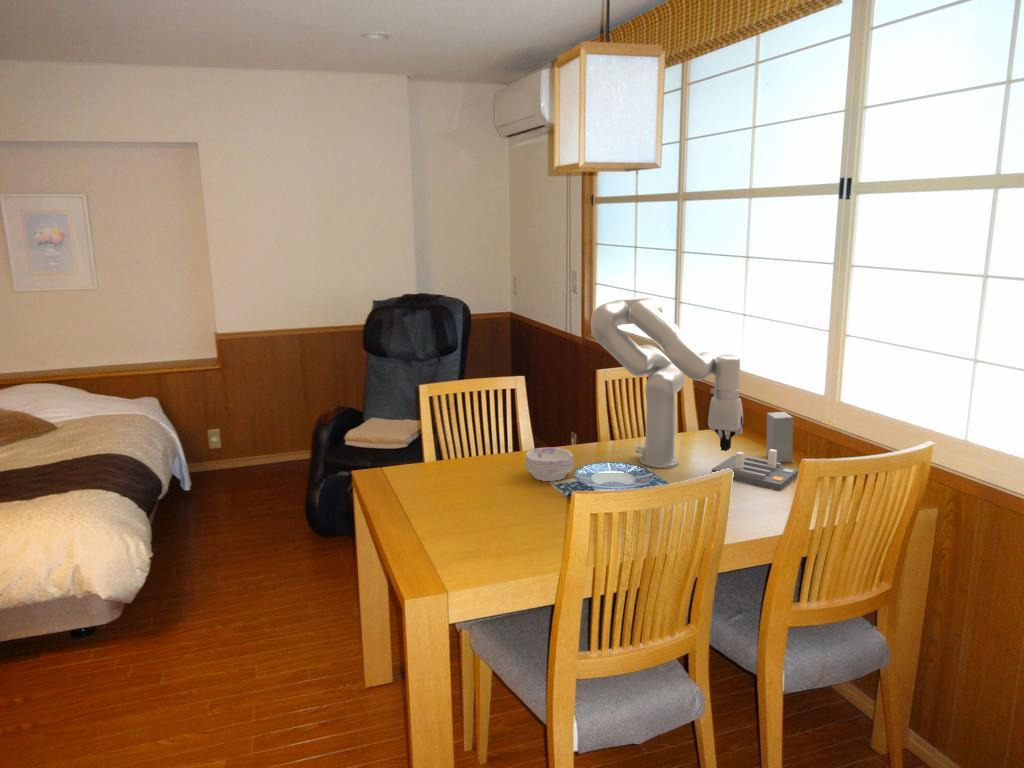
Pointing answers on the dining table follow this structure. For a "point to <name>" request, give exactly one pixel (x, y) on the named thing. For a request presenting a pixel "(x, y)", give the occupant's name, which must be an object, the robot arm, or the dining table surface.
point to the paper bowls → (549, 463)
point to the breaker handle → (772, 457)
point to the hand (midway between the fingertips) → (725, 449)
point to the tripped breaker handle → (739, 460)
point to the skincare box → (780, 435)
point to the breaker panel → (760, 472)
